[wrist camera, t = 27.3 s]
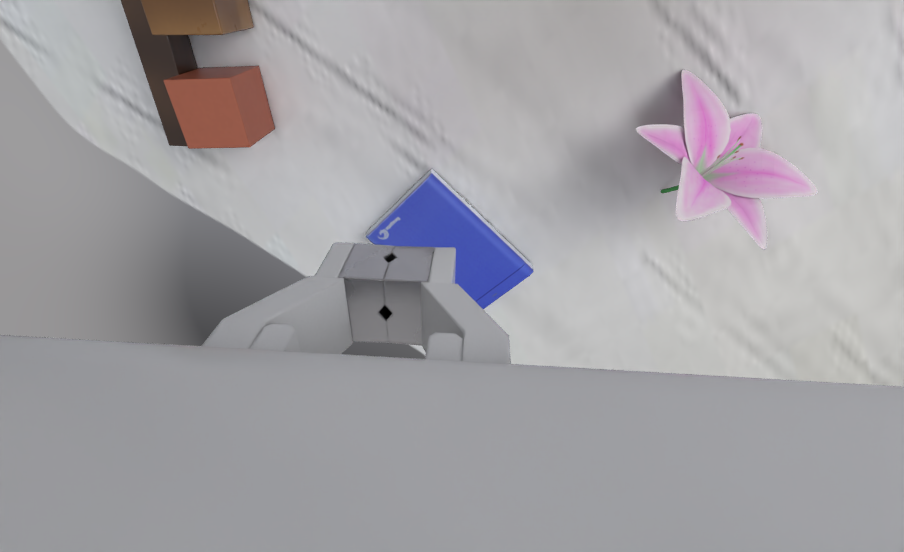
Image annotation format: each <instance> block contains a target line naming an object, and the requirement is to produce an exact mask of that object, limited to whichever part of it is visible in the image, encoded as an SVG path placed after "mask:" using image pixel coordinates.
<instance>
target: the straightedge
mask: <svg viewBox="0 0 904 552" xmlns="http://www.w3.org/2000/svg"><path fill="white" fill-rule="evenodd" d="M121 2H122V5H123V8H124V11H125V14H126V17H127V20H128V23H129V26H130V29H131V32H132V35H133V38H134V41H135V44H136V47H137V50H138V53H139V56H140V59H141V62H142V65H143V68H144V71H145V74H146V77H147V80H148V83H149V86H150V89H151V92H152V95H153V98H154V101H155V104H156V107H157V110H158V113H159V116H160V119H161V122H162V125H163V128H164V131H165V133H166V136H167V139H168V142H169V145H172V146H187V143H186V140H185V138H184V135H183V132H182V129H181V127H180V124H179V121H178V119H177V116H176V113H175V111H174V108H173V105H172V102H171V100H170V97H169V94H168V92H167V89H166V86H165V84H164V80H165V79H168V78H171V77H174V76H177V75H180V74H183V73H186V72H189V71H192V70H195V69H197V66H196V63H195V59H194V55H193V52H192V48H191V44H190V41H189V37H188V35H153V34H152V32H151V29H150V26H149V23H148V20H147V17H146V15H145V12H144V9H143V6H142V3H141V0H121Z"/></svg>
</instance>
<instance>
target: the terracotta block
mask: <svg viewBox="0 0 904 552" xmlns="http://www.w3.org/2000/svg"><path fill="white" fill-rule="evenodd" d="M164 84H165V86H166V89H167V92H168V94H169V97H170V100H171V102H172V105H173V108H174V111H175V113H176V116H177V119H178V121H179V124H180V127H181V129H182V132H183V135H184V138H185V140H186V143H187V146H188V148H189V149H191V148H237V147H251V146H252V145H254V144H255V143H256V142H258V141H259V140H260V139H262V138H263V137H264V136H266V135H267V134H268V133H270V132H271V131H272V130H274V129H275V127H274V123H273V119H272V116H271V112H270V108H269V104H268V100H267V96H266V92H265V88H264V84H263V80H262V77H261V73H260V69H259V66H240V67H212V68H198V69H195V70H192V71H189V72H186V73H183V74H180V75H177V76H174V77H171V78H168V79H165V80H164Z"/></svg>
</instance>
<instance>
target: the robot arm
mask: <svg viewBox="0 0 904 552" xmlns="http://www.w3.org/2000/svg"><path fill="white" fill-rule="evenodd" d="M455 267H456V249H455V247H435V248H434V247H412V246H390V245H375V244H360V243H356V244H355V243H342V242H336V243H334V244H333V245H332V246H331V248H330V250H329V252H328V253H327V255H326V257H325V259H324V260H323V262H322V264H321V266H320V267H319V269H318V271H317V273H316V274H315V276H308V277H306V278H304V279H302V280H300V281H298V282H296V283H294V284H292V285H290V286H288V287H286V288H284V289H282V290H280V291H278V292H276V293H274V294H272V295H270V296H268V297H266V298H264V299H262V300H260V301H258V302H256V303H254V304H252V305H250V306H248V307H246V308H244V309H242V310H240V311H238V312H236V313H234V314H232V315H230V316H228V317H226V318H224V319H222V320H221V322H220V323H219V324H218V326H217V327H216V328H215V329H214V331H213V332H212V333H211V335H210V336H209V337H208V339H207V340H206V341H205V343H204V344H203V345H202V346H186V345H169V344H151V343H134V342H114V341H99V340H81V339H79V340H78V339H63V338H46V337H29V336H11V335H0V552H904V387H903V386H885V385H868V384H850V383H832V382H814V381H797V380H780V379H762V378H745V377H728V376H711V375H693V374H676V373H659V372H641V371H624V370H607V369H589V368H572V367H554V366H537V365H519V364H511V359H510V344H509V335H508V334H507V333H506V332H505V331H504V330H503V329H502V328H501V327H500V326H499V325H498V324H497V323H496V322H495V321H494V320H493V319H492V318H491V317H490V316H489V315H488V314H487V313H486V312H485V311H484V310H483V309H482V308H481V307H480V306H479V305H478V304H477V303H476V302H475V301H474V300H473V299H472V298H471V297H470V296H469V295H468V294H467V293H466V292H465V291H464V290H463V289H462V288H461V287H460V286H459V285H458V284H455ZM353 342H383V343H399V344H410V345H422V346H423V349H424V350H425V352H426V356H425V359H414V358H413V359H412V358H395V357H378V356H360V355H343V354H341V353H342V352H343V351H345V350H346V349H347V348H348V347H349V346H350V345H351V344H353Z"/></svg>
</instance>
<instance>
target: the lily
mask: <svg viewBox="0 0 904 552" xmlns="http://www.w3.org/2000/svg"><path fill="white" fill-rule="evenodd" d="M681 79H682V90H683V100H684V128H683V127H680V126H676V125H669V124H654V125H644V126H639V127H637V128H636V131H637V132H638V133H639V134H640V135H641V136H642V137H644V138H645V139H646V140H648V141H649V142H650V143H652V144H653V145H654V146H656V147H657V148H658V149H660V150H661V151H662V152H664V153H665V154H667V155H668V156H669V157H671V158H672V159H673V160H675V161H676V162H677V163H679V164H680V165H681V166H682V169H681V177H680V183H679V185H678V186H674V187H671V188H667V189H663V190H661V193H666V192H671V191H674V190H678V195H677V201H676V216H677V218H678V220H681V221H691V220H695V219H698V218H702V217H705V216H708V215H710V214H713V213H715V212H718V211H721V210H723V209H726V208H727V209H728V210H729V212H730V213H731V214H732V215H733V216H734V217H735V218H736V220H737V221H738V222H739V223H740V224H741V225H742V227H743V228H744V229H745V230H746V231H747V232H748V234H749V235H750V236H751V237H752V238H753V239H754V241H755V242H756V243H757V244H758V245H759V246H760V247H761V248H762V249H764V250H765V249H766V247H767V239H768V237H767V224H766V218H765V212H764V209H763V205H762V202H761V201H760V199H759V198H763V199H767V198H785V197H803V196H812V195H816V194H817V192H818V190H817V188H816V186H815V185H814V184H813V183H812V182H811V180H810V179H809V178H808V177H807V176H806V175H805V174H803V173H802V172H801V171H800V170H799V169H798V168H797V167H795V166H794V165H793V164H791V163H790V162H789V161H788V160H786V159H785V158H783V157H781V156H780V155H778V154H776V153H774V152H772V151H769V150H766V149H763V148H760V146H761V142H762V121H761V118H760V116H759V115H758V114H756V113H748V114H743V115H739V116H736V117H733V118H731V119H730V118H729V115H728V113H727V110H726V108H725V106H724V105H723V104H722V102H721V101H720V99H719V98H718V97H717V96H716V95H715V93H714V92H713V91H712V90H711V89H710V88H709V87H708V86H707V85H706V84H705V83H704V82H703V81H701V80H700V79H699V78H698V77H697V76H696V75H694V74H693V73H691V72H690V71H688V70H685V69H683V71H682V74H681Z"/></svg>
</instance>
